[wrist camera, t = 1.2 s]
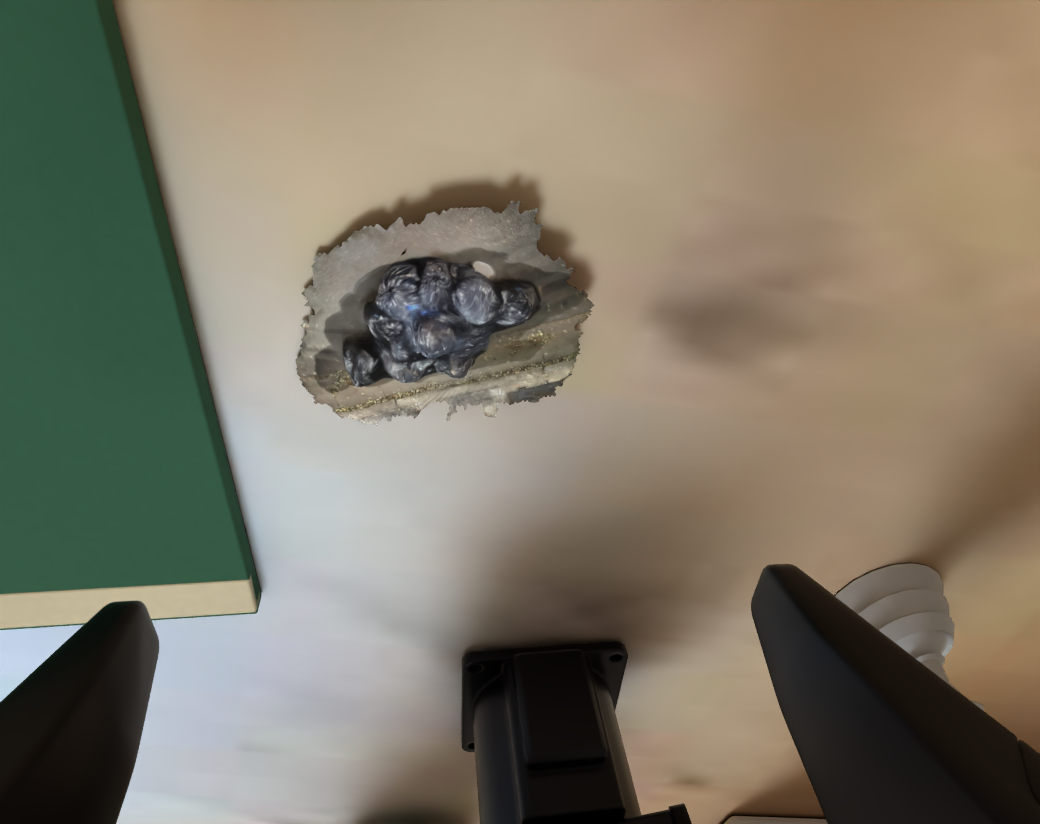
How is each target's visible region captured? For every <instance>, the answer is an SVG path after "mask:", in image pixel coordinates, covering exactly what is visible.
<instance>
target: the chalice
mask: <svg viewBox="0 0 1040 824" xmlns="http://www.w3.org/2000/svg"><path fill="white" fill-rule="evenodd" d="M835 597H836V598H838V599H839V600H840V601H842V602H843V603H844V604H846V605H847V606H848V607H849V608H851V609H852V610H853V611H855V612H856V613H857V614H859V615H860V616H861V617H862V618H864V619H865V620H866V621H868V622H869V623H870V624H871V625H873V626H874V627H875V628H877V629H878V630H879V631H881V632H882V633H883V634H884V635H886V636H887V637H888V638H890V639H891V640H892V641H894V642H895V643H896V644H897V645H899V646H900V647H901V648H903V649H904V650H905V651H906V652H908V653H909V654H910V655H912V656H913V657H914V658H916V659H917V660H918V661H919V662H921V663H922V664H923V665H925V666H926V667H927V668H929V669H930V670H931V671H932V672H934V673H935V674H936V675H938V676H939V677H940V678H941V679H943V680H944V681H945V682H947V683H948V684H949V685H951V686H952V687H953V688H954V689H956V688H955V687H954V686H953V685H952V684H951V683H950V682H949V680H948V678H947V676H946V674H945V671H944V669H943V667H942V665H943V664H944V661H945V658H944V657H945V656H946V655H947V654H948V653H949V651H950V649H951V648H952V646H953V639H954V623H953V621H952V619H951V617H950V616H949V604H948V602H947V600H946V598H945V596H944V595H943V581H942V579H941V577H940V575H939V573H938V572H937V571H935V570H933V569H932V568H930V567H928V566H925V565H919V564H913V563H910V564H899V565H892V566H888V567H885V568H882V569H878V570H875V571H872V572H870V573H868V574H866V575H864V576H862V577H860V578H858V579H856V580H854V581H853V582H852V583H850V584H849V585H848V586H846V587H845V588H844V589H842V590H841V591H840V592H839V593H838V594H837V595H836V596H835ZM956 690H957V689H956ZM957 691H958V690H957ZM958 692H959V691H958ZM970 701H971V700H970ZM971 702H973V703H974V704H975V705H976V706H978V707H979V708H980V709H982V710H983V711H984V707H983V705H982V704H980V703H977V702H974V701H971Z"/></svg>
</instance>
